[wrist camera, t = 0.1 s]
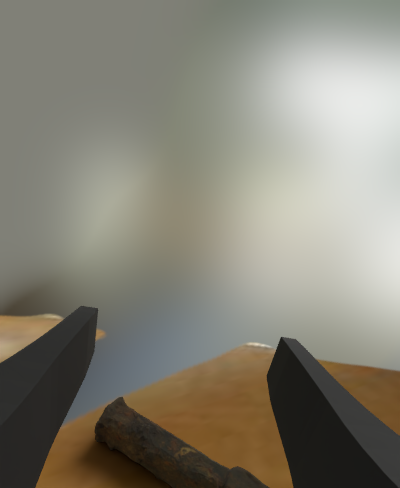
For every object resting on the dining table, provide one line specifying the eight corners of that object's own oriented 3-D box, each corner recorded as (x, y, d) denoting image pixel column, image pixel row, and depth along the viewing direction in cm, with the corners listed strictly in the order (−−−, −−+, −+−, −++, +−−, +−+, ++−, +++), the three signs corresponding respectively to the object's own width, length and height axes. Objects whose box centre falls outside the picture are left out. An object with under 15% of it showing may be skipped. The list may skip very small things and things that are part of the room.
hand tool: (89, 446, 29) (93, 409, 28) (118, 417, 33) (123, 384, 31) (277, 598, 22) (297, 559, 20) (289, 541, 25) (306, 503, 24)
